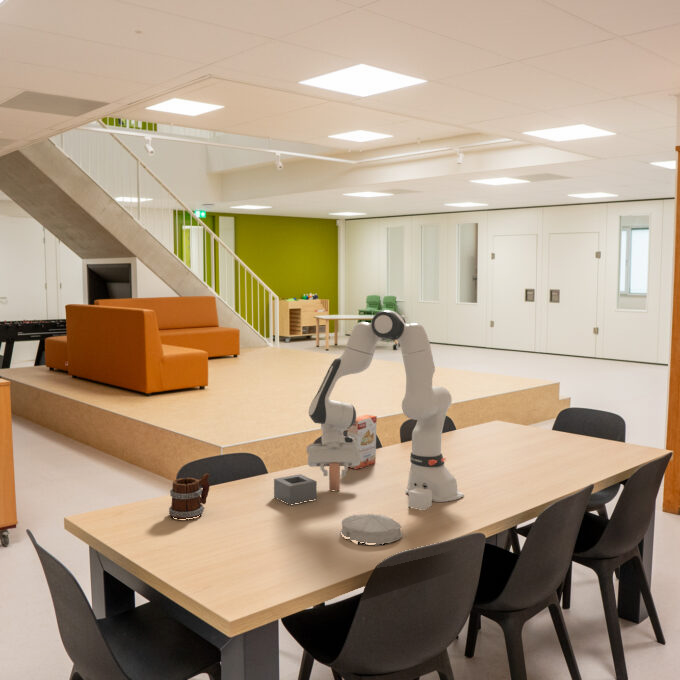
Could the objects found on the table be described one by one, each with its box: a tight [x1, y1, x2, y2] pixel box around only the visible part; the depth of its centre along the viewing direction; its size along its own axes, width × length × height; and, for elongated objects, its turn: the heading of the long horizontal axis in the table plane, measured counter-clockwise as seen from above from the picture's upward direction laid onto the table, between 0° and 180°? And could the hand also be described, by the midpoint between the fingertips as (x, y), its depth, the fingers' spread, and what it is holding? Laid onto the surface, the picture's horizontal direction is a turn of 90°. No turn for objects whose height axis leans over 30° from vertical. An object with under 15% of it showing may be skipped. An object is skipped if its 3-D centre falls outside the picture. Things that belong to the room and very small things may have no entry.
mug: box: [168, 472, 211, 519], centre depth 241 cm, size 12×14×15 cm
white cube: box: [408, 487, 433, 511], centre depth 250 cm, size 6×6×6 cm
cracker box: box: [347, 414, 378, 470], centre depth 303 cm, size 14×6×21 cm, turn 143°
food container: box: [340, 513, 403, 545], centre depth 224 cm, size 20×20×7 cm
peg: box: [328, 463, 341, 491], centre depth 269 cm, size 4×4×10 cm
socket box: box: [273, 473, 318, 506], centre depth 258 cm, size 11×11×7 cm
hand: (334, 475), depth 268 cm, fingers open, 5 cm apart
